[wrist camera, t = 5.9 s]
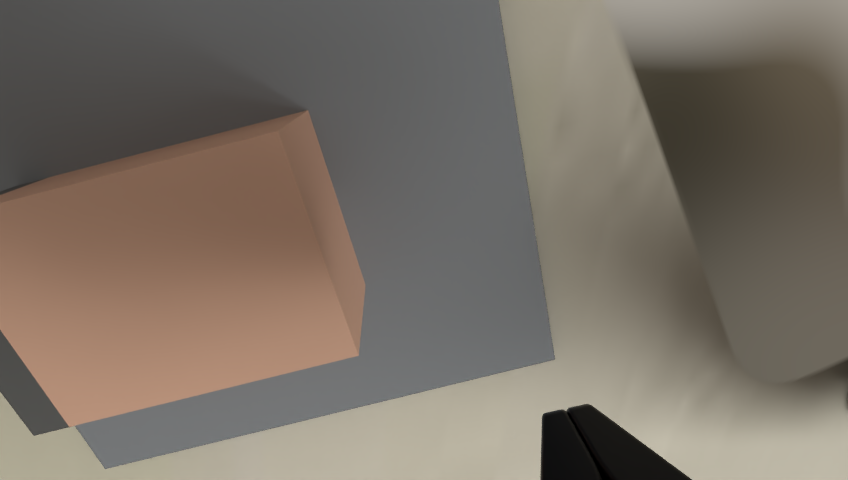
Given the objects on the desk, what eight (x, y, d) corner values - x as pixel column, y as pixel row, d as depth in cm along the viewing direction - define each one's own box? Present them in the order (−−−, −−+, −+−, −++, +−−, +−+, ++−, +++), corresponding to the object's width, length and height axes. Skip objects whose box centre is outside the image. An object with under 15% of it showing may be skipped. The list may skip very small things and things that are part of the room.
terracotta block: (277, 130, 10) (-120, 233, 10) (358, 355, 12) (33, 435, 12) (308, 110, 14) (17, 185, 14) (365, 285, 16) (115, 347, 16)
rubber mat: (472, -145, 12) (474, -152, 12) (551, 353, 18) (554, 359, 18) (-185, 32, 12) (-202, 32, 12) (111, 460, 18) (105, 469, 18)
